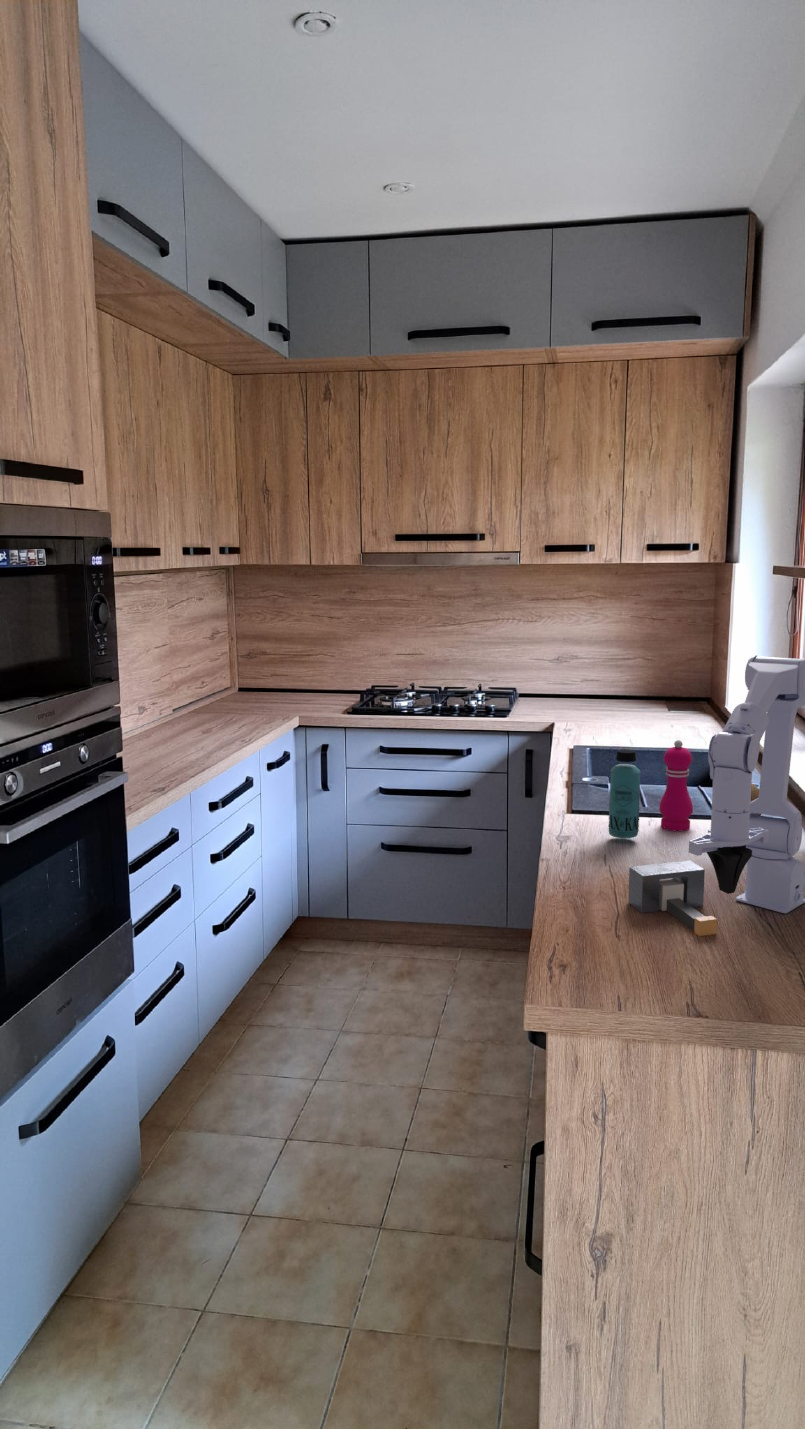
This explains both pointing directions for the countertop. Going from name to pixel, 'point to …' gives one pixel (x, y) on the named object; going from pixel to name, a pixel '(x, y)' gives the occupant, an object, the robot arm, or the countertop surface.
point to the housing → (648, 878)
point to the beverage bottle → (624, 797)
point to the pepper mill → (676, 790)
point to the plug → (684, 908)
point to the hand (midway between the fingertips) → (727, 891)
